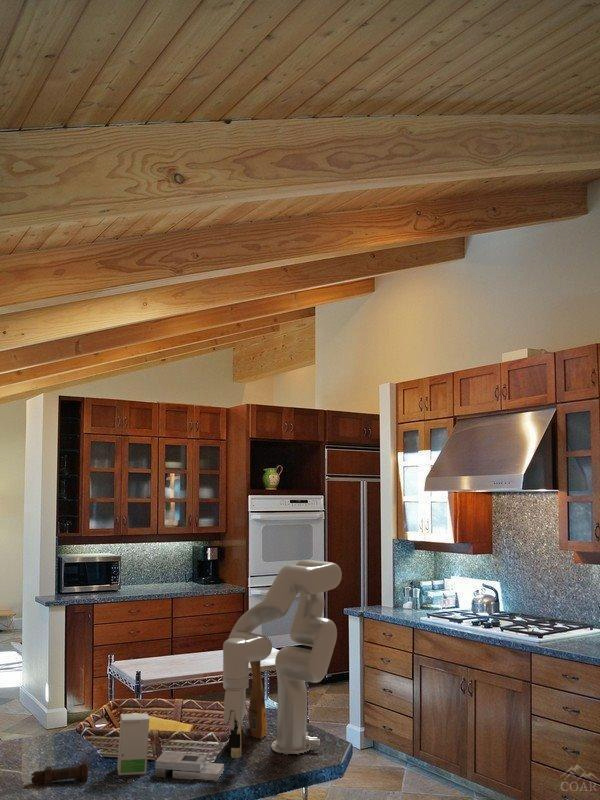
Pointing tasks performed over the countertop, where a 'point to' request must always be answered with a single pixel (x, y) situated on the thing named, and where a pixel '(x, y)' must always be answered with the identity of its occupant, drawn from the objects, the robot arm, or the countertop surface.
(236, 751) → the pin
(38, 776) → the bolt
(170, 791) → the countertop surface
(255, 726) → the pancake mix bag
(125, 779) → the countertop surface
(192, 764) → the grey electronic gadget
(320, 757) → the countertop surface
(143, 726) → the skincare box
